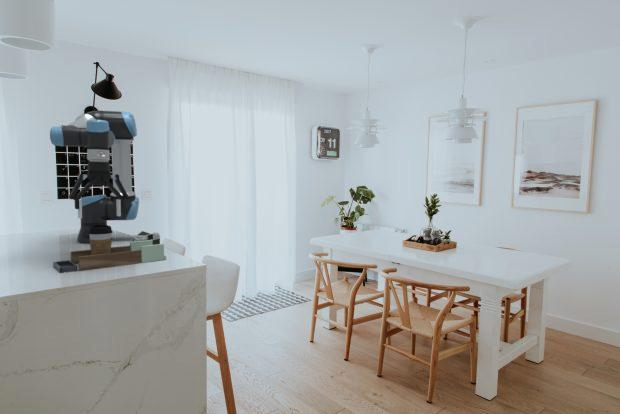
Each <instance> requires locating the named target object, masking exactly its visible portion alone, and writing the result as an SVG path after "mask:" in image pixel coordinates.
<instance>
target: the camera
mask: <svg viewBox="0 0 620 414" xmlns="http://www.w3.org/2000/svg"><path fill="white" fill-rule="evenodd" d="M146 240H153V245H157V244H161V235H160V233H159V232H157V231H155V232H152V233H149V232H147V231H140V232H139V233H137V234H136V235H135V237H134V238H133V239H132V240H131V241H130V242H136V241H146Z"/></svg>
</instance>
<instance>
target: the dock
mask: <svg viewBox="0 0 620 414" xmlns="http://www.w3.org/2000/svg"><path fill="white" fill-rule="evenodd" d="M129 246H131V251H135V250H142V263H151V262H159V261H165V260H166V261H167V255H165V244H164V243H160V244H157V245H153V240H146V241H136V242H131V241H130V242H129ZM142 263H141V264H142Z"/></svg>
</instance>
